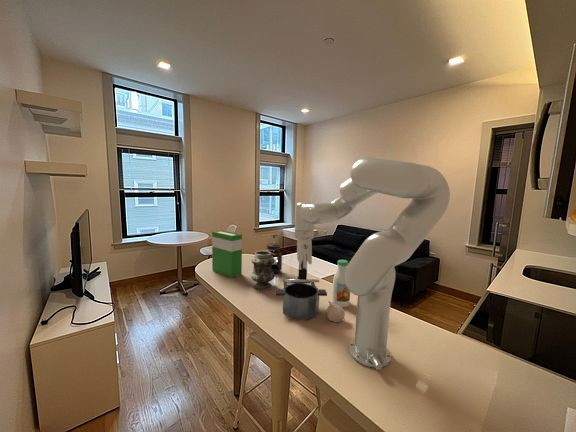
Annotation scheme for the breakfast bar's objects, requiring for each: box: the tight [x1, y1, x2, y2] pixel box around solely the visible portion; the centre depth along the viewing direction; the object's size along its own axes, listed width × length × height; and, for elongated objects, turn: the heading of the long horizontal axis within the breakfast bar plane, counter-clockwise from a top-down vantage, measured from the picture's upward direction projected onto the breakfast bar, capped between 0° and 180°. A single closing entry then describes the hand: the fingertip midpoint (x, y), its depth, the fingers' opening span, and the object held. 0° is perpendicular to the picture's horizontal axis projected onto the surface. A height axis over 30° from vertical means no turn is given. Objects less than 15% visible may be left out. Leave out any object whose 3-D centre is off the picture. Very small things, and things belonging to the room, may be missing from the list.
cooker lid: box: [282, 276, 320, 284], centre depth 102 cm, size 16×15×3 cm
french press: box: [266, 234, 283, 276], centre depth 146 cm, size 12×9×23 cm
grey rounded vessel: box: [250, 250, 275, 291], centre depth 125 cm, size 12×12×18 cm
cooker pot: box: [275, 282, 328, 321], centre depth 102 cm, size 16×21×9 cm
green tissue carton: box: [211, 229, 243, 278], centre depth 143 cm, size 18×7×24 cm, turn 53°
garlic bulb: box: [326, 301, 346, 323], centre depth 95 cm, size 7×6×8 cm
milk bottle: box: [331, 259, 351, 308], centre depth 108 cm, size 8×8×20 cm
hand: (302, 278), depth 97 cm, fingers closed
